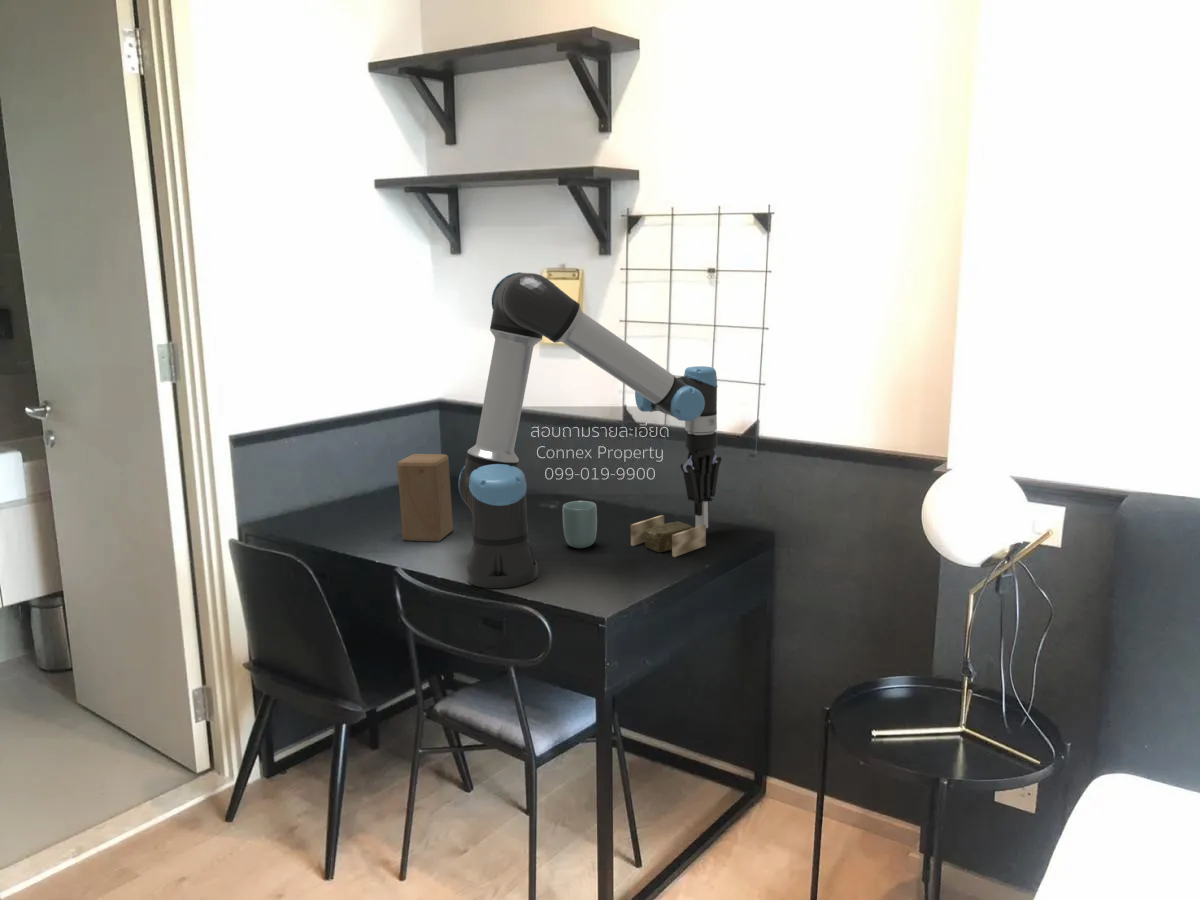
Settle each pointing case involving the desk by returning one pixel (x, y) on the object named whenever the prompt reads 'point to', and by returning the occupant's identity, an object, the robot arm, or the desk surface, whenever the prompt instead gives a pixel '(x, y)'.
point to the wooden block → (425, 497)
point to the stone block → (663, 535)
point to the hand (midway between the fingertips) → (701, 527)
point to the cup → (580, 523)
